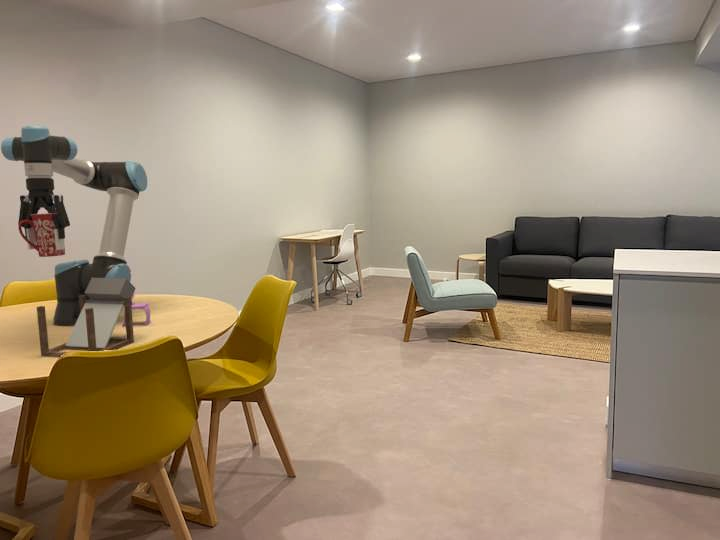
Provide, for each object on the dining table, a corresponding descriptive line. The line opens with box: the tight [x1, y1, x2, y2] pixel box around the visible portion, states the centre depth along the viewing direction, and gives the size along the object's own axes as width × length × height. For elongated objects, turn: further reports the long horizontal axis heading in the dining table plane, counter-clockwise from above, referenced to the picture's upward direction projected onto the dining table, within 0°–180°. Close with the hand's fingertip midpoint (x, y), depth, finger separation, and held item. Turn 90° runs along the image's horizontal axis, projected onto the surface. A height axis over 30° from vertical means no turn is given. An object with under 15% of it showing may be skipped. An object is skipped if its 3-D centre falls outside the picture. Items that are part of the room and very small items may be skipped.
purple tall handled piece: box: [121, 293, 151, 328], centre depth 201 cm, size 8×9×15 cm
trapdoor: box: [65, 278, 136, 349], centre depth 174 cm, size 14×24×6 cm
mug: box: [18, 212, 66, 258], centre depth 171 cm, size 13×9×14 cm
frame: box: [36, 295, 135, 358], centre depth 169 cm, size 18×19×15 cm
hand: (46, 249), depth 172 cm, fingers closed on mug, 10 cm apart
